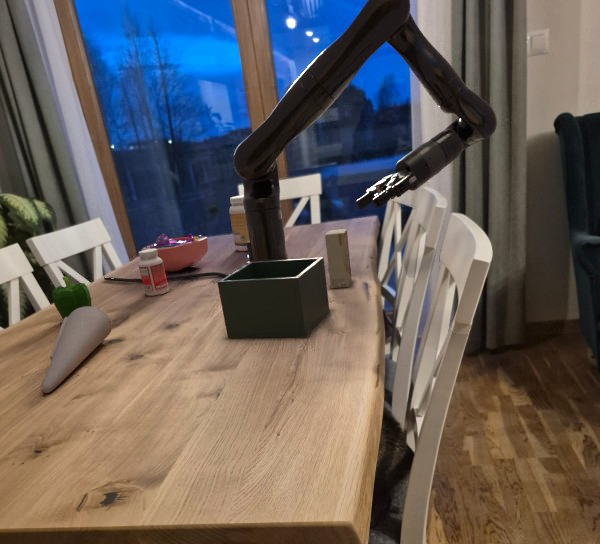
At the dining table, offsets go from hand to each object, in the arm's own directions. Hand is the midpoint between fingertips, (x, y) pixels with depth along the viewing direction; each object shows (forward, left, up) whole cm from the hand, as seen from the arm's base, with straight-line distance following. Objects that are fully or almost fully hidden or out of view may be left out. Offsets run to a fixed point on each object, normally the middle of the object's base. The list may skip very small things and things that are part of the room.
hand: (365, 205), depth 131 cm
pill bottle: (-56, -6, -17) cm, 59 cm away
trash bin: (-11, -34, -17) cm, 39 cm away
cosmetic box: (-6, -6, -17) cm, 19 cm away
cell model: (-64, +21, -17) cm, 69 cm away
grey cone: (-42, -54, -17) cm, 71 cm away
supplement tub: (-51, +48, -17) cm, 72 cm away
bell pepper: (-65, -27, -17) cm, 72 cm away
